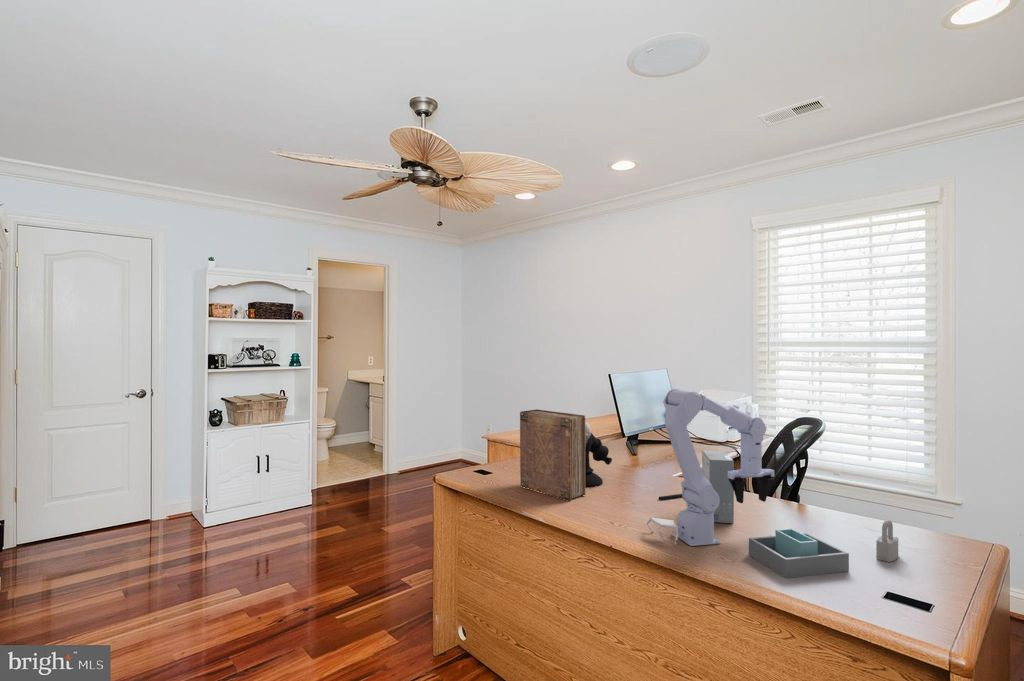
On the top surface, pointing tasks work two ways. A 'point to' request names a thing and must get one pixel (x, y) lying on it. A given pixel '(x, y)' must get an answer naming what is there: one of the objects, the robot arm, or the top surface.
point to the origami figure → (665, 524)
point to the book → (553, 453)
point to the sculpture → (594, 457)
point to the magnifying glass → (670, 497)
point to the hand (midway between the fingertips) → (751, 501)
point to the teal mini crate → (794, 544)
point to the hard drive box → (720, 482)
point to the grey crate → (799, 558)
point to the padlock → (887, 543)
